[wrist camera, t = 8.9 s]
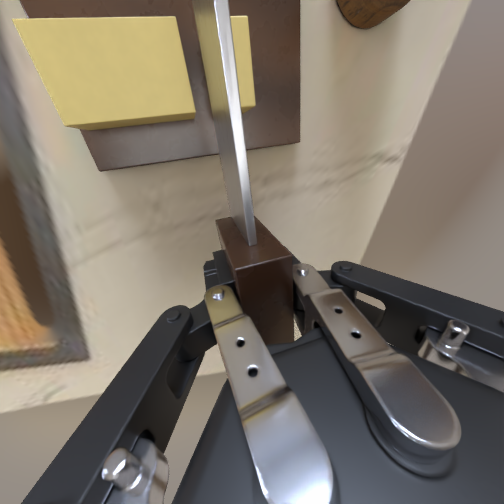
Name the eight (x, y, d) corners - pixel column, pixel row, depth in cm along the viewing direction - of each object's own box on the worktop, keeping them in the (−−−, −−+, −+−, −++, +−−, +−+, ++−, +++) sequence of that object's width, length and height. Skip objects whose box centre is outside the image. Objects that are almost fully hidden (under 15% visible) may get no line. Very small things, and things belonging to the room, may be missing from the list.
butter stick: (194, 119, 14) (196, 112, 12) (88, 130, 13) (64, 126, 11) (178, 42, 12) (175, 15, 10) (51, 48, 11) (10, 18, 9)
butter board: (295, 142, 18) (300, 142, 17) (104, 170, 15) (98, 171, 14) (293, -6, 14) (300, -16, 13) (23, -7, 11) (9, -21, 10)
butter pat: (244, 113, 15) (256, 106, 13) (213, 116, 15) (219, 110, 12) (236, 40, 13) (248, 14, 11) (200, 42, 13) (203, 15, 10)
